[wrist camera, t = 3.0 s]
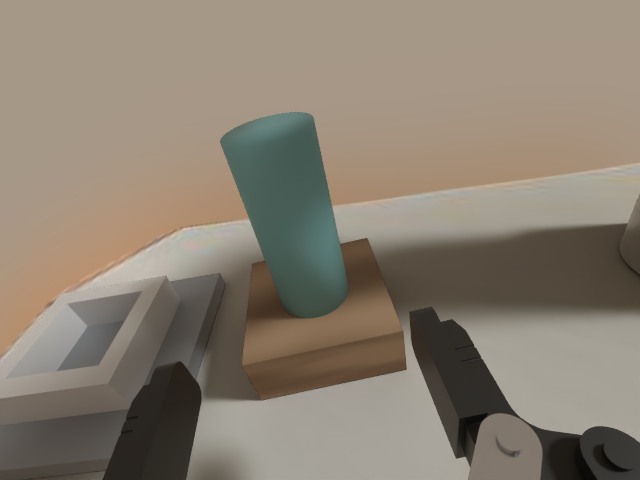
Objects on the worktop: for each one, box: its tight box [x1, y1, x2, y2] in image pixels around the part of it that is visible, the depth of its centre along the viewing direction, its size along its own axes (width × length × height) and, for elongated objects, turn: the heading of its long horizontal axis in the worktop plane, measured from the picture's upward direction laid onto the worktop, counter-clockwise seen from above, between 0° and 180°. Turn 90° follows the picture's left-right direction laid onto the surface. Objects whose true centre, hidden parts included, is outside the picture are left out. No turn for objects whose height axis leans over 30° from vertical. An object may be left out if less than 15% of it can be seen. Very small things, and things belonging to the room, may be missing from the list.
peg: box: [220, 112, 349, 318], centre depth 21 cm, size 5×5×12 cm
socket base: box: [0, 273, 225, 480], centre depth 27 cm, size 16×16×4 cm
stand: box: [242, 238, 407, 400], centre depth 26 cm, size 10×10×4 cm
